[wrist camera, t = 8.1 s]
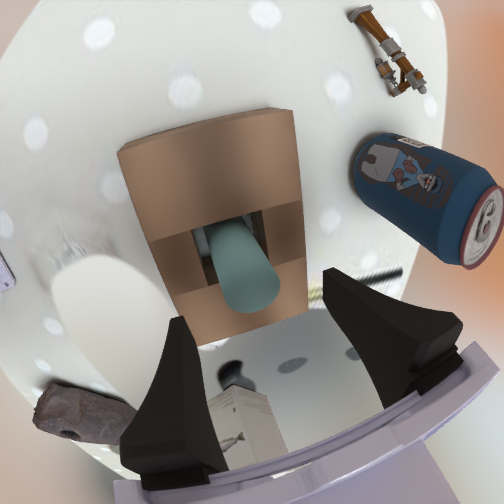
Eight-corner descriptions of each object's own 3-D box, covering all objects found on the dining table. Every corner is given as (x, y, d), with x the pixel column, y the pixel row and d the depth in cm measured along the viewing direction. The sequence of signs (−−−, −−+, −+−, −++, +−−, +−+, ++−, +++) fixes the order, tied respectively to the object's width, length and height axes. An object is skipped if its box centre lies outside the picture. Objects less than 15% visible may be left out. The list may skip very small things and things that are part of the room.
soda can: (400, 198, 25) (493, 263, 15) (344, 209, 23) (444, 292, 14) (406, 130, 21) (518, 175, 11) (346, 130, 20) (476, 180, 10)
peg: (209, 247, 22) (232, 319, 15) (198, 214, 20) (216, 279, 13) (246, 235, 22) (283, 301, 15) (237, 200, 20) (275, 258, 14)
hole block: (190, 318, 25) (195, 347, 22) (125, 143, 16) (116, 153, 13) (293, 286, 26) (308, 310, 23) (271, 107, 17) (292, 110, 14)
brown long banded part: (394, 108, 19) (424, 94, 14) (337, 34, 17) (356, 7, 13) (406, 101, 18) (437, 87, 14) (351, 29, 17) (372, 3, 12)
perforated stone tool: (150, 399, 30) (155, 447, 25) (139, 415, 32) (143, 458, 26) (38, 367, 23) (28, 416, 17) (38, 387, 25) (31, 431, 19)
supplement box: (232, 382, 32) (262, 472, 22) (267, 394, 36) (298, 470, 26) (194, 406, 33) (214, 489, 23) (230, 416, 37) (253, 488, 27)
